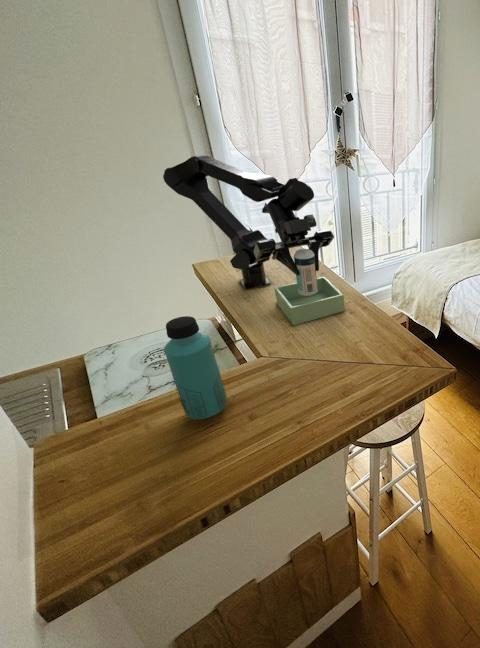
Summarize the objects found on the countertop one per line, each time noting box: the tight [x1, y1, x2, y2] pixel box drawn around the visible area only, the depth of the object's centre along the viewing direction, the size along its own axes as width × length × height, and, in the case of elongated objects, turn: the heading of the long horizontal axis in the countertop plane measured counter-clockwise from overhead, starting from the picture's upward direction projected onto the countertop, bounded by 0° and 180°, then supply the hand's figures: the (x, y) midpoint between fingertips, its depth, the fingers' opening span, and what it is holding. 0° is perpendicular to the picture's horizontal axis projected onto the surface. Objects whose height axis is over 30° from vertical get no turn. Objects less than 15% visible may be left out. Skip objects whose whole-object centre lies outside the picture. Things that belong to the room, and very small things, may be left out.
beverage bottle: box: [163, 315, 228, 420], centre depth 68 cm, size 6×7×20 cm
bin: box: [273, 276, 345, 326], centre depth 107 cm, size 13×13×5 cm
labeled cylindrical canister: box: [293, 248, 318, 296], centre depth 103 cm, size 5×5×12 cm
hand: (308, 272), depth 102 cm, fingers closed on labeled cylindrical canister, 5 cm apart
